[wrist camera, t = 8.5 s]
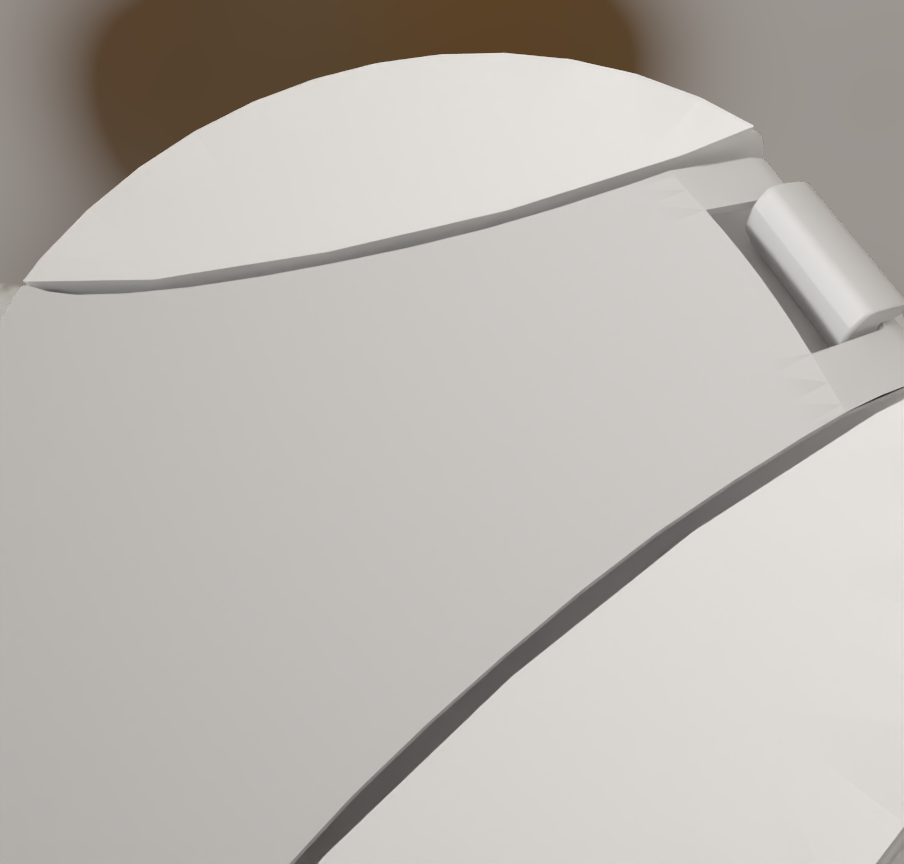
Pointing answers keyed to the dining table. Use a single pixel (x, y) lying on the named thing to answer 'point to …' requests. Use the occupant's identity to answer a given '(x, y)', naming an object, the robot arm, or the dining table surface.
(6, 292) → the dining table surface
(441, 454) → the coffee cup
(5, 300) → the dining table surface
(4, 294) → the dining table surface
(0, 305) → the dining table surface
